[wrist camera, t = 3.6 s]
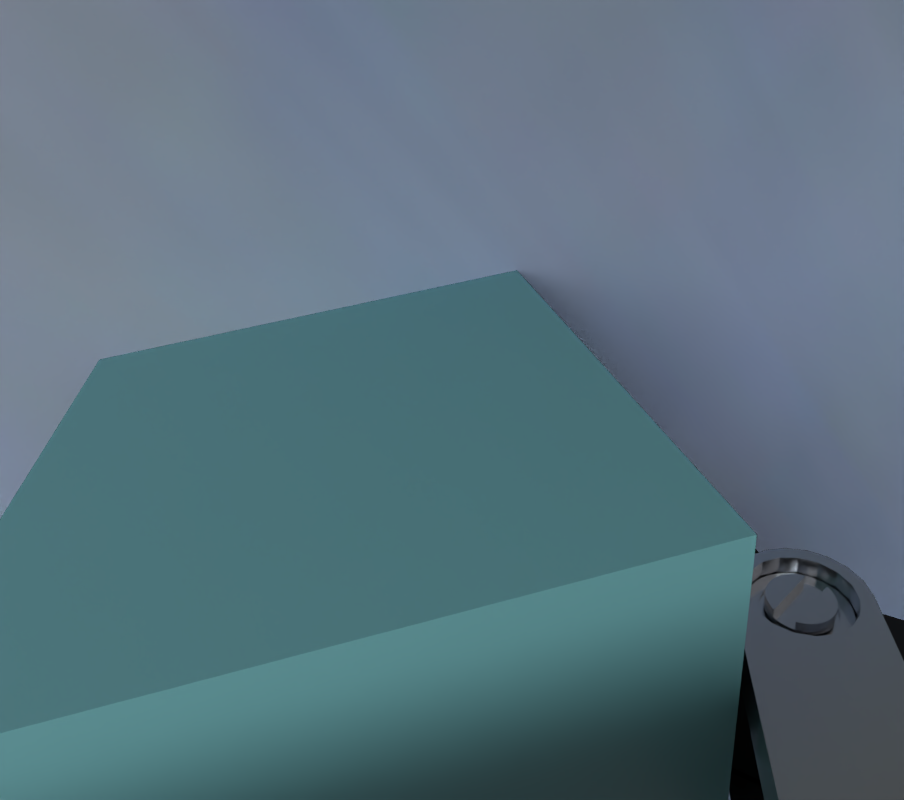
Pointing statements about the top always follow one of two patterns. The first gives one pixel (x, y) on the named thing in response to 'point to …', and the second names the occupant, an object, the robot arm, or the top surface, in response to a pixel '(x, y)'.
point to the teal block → (370, 572)
